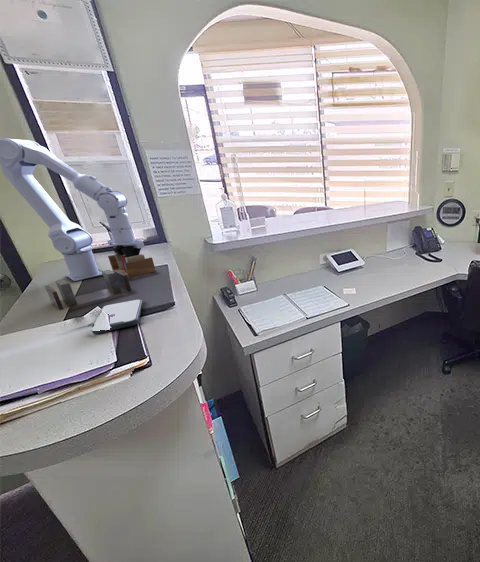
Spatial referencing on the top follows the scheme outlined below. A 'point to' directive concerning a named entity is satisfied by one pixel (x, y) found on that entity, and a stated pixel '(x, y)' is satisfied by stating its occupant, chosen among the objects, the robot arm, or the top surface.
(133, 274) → the wooden desk organizer
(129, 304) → the phone case
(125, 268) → the red boxy piece
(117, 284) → the grey book rack
